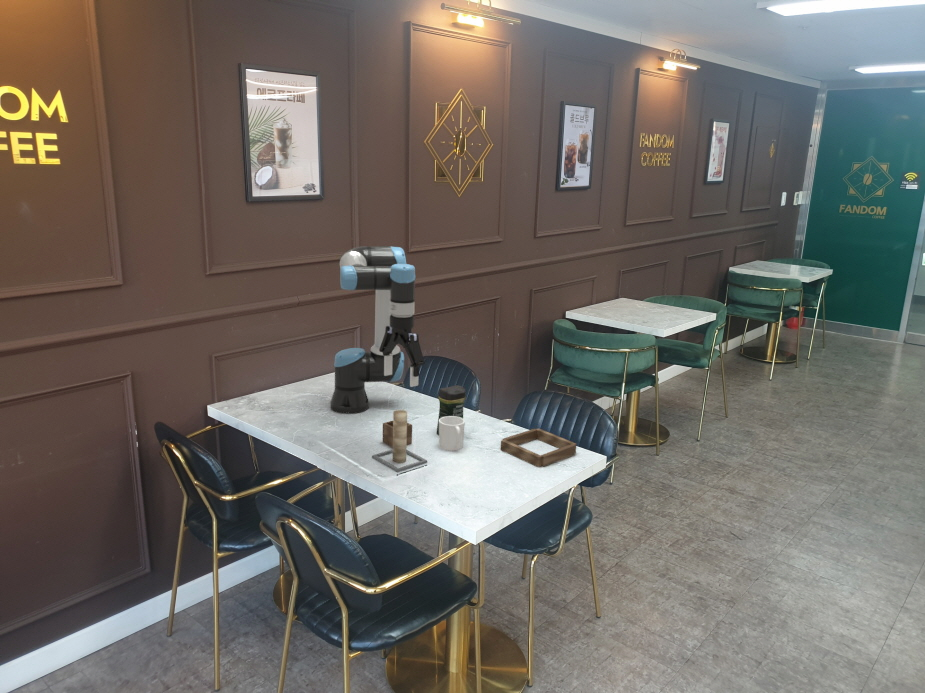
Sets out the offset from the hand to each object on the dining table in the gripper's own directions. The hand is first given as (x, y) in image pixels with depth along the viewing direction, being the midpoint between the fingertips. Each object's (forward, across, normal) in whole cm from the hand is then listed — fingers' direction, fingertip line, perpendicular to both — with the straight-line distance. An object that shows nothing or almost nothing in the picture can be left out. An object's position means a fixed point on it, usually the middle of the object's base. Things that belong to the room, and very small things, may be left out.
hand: (400, 380), depth 223 cm
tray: (+28, 0, 0) cm, 28 cm away
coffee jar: (+29, -8, +29) cm, 41 cm away
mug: (+28, +2, +21) cm, 35 cm away
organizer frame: (+28, +21, +44) cm, 56 cm away
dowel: (+28, 0, 0) cm, 28 cm away
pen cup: (+28, -12, +8) cm, 32 cm away
